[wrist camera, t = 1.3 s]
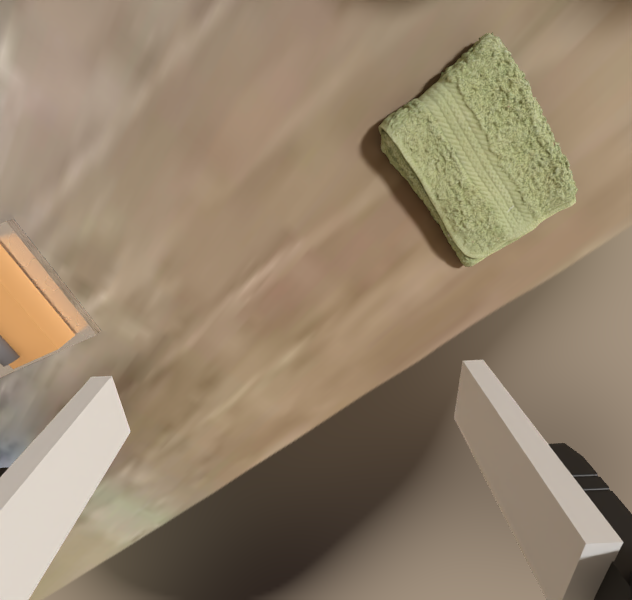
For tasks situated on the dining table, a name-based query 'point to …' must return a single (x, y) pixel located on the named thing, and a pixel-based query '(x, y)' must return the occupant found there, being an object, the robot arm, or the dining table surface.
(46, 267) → the vise
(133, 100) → the dining table surface
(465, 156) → the washcloth
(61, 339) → the block
